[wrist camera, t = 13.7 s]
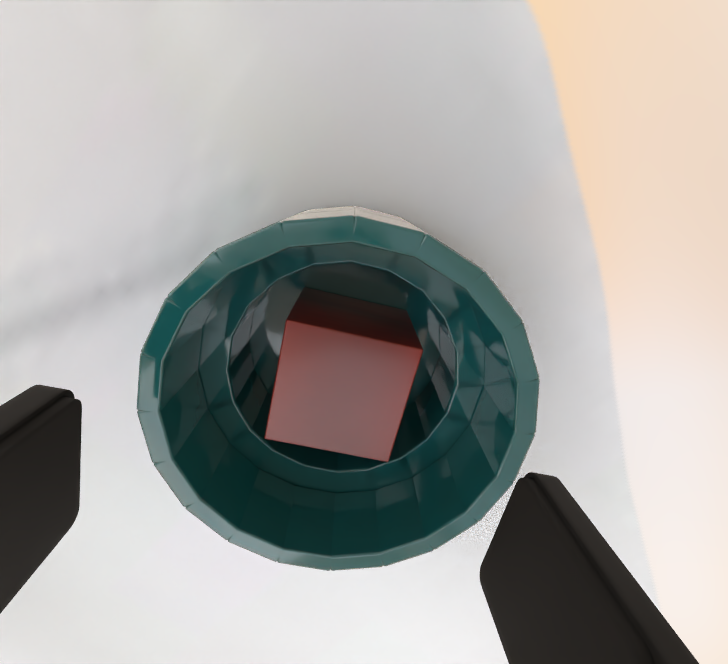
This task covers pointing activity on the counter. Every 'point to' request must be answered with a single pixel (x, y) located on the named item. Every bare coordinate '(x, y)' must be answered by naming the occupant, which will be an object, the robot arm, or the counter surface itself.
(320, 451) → the teal round tub
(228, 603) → the counter surface
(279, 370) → the red block
